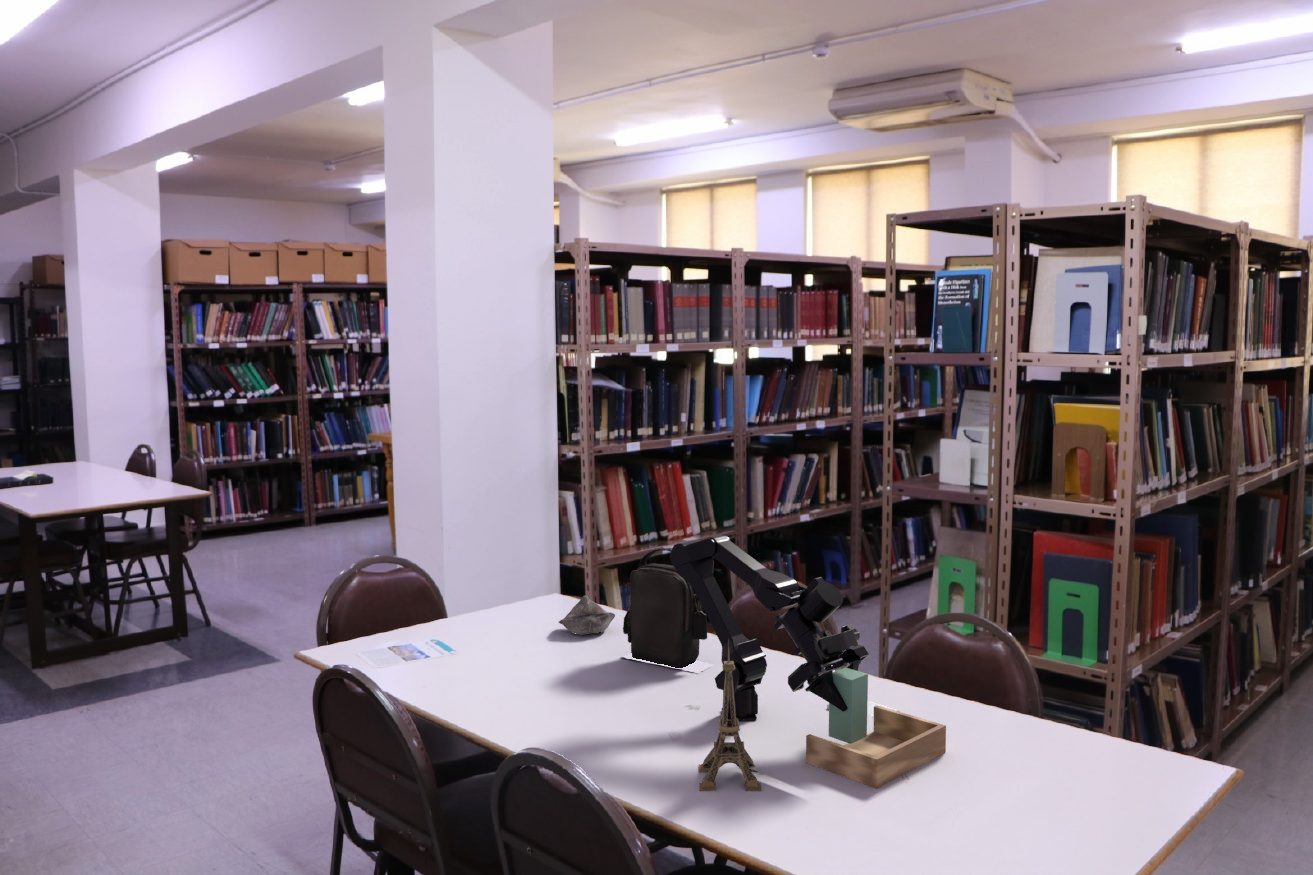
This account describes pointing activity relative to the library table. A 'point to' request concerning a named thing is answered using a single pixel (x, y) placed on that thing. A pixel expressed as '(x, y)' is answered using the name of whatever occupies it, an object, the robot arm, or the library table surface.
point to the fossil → (587, 617)
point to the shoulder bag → (663, 615)
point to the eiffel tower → (728, 750)
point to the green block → (850, 706)
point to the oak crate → (881, 749)
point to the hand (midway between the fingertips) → (854, 706)
